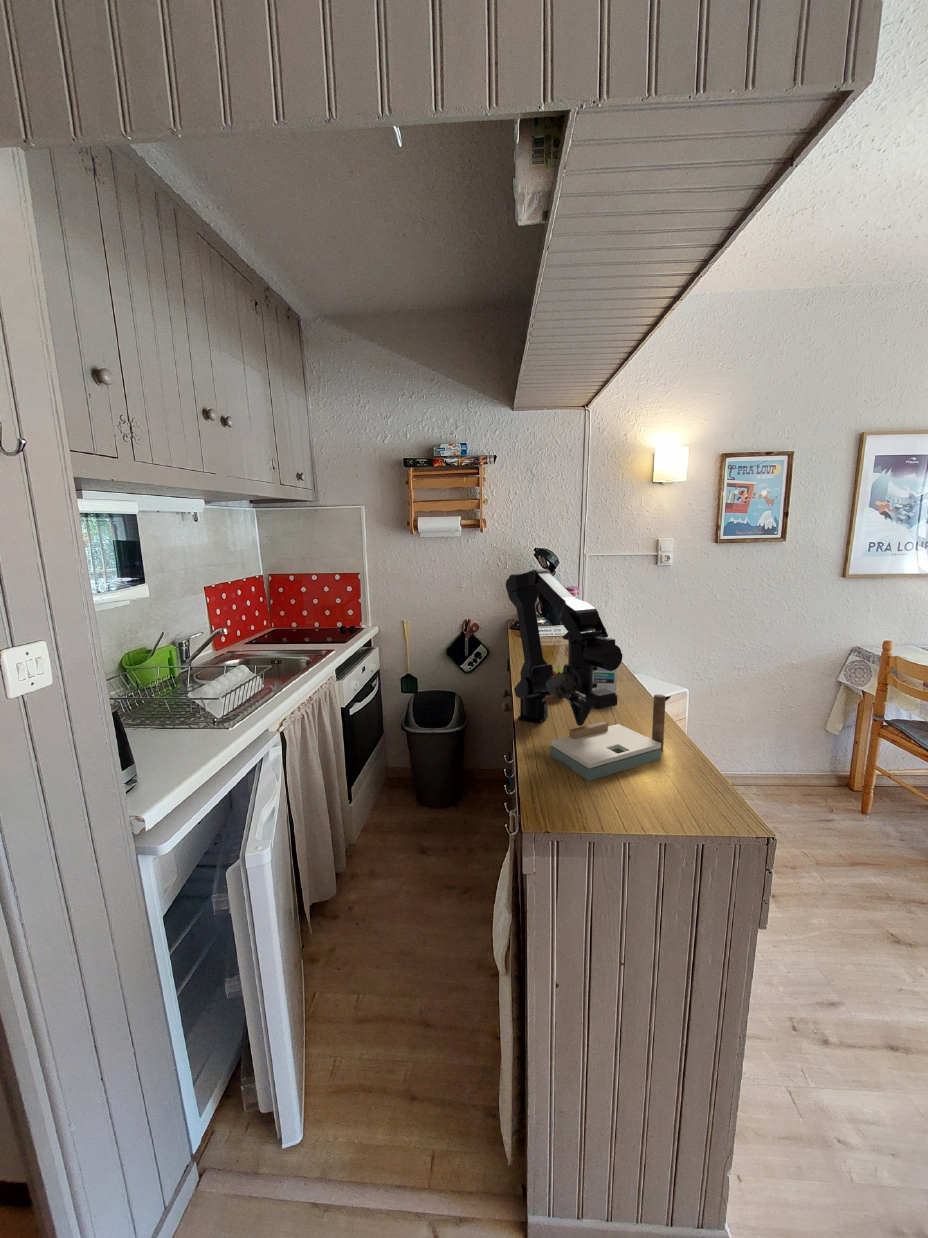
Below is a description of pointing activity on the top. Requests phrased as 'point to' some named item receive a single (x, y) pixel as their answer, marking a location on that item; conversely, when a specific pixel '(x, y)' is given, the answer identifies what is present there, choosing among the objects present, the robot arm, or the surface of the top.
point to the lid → (603, 744)
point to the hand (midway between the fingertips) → (579, 725)
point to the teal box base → (605, 768)
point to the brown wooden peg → (658, 719)
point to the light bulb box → (605, 679)
